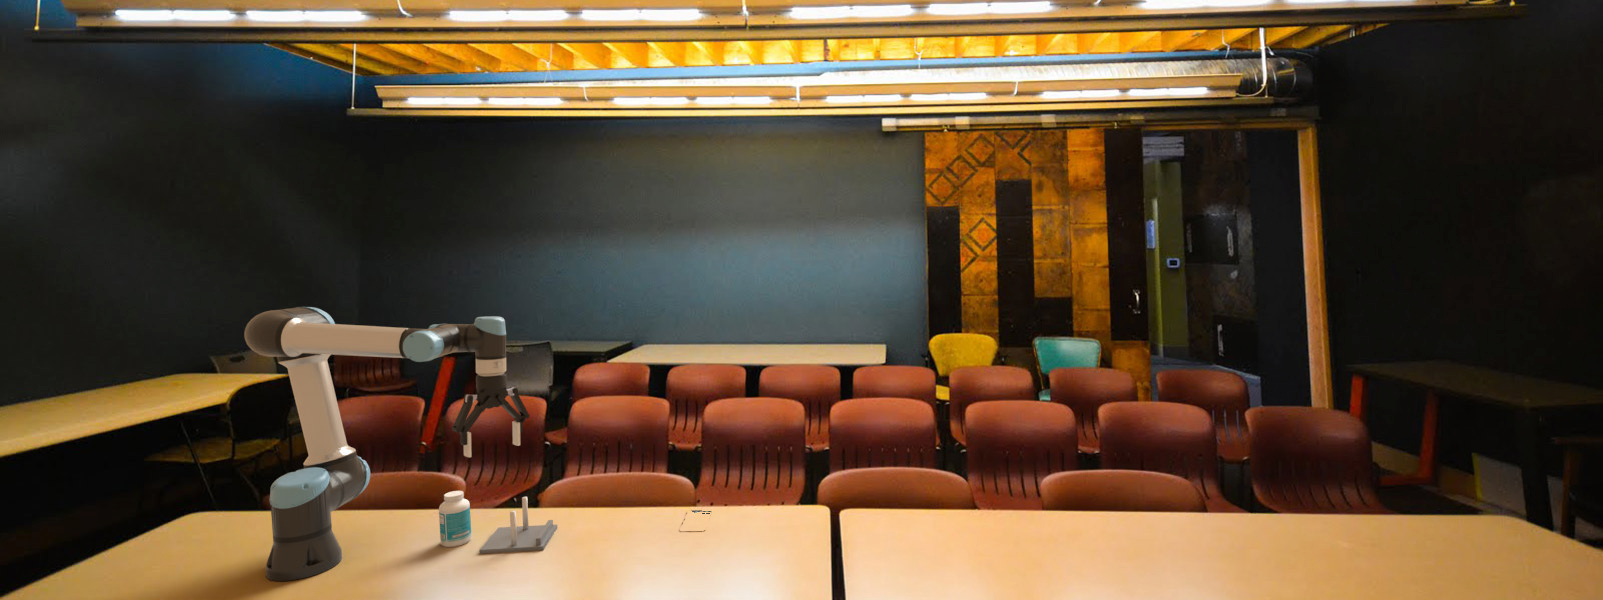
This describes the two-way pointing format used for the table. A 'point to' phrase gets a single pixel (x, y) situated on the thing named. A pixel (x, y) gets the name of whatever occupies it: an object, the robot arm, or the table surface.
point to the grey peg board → (519, 535)
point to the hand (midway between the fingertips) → (492, 450)
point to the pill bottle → (454, 520)
